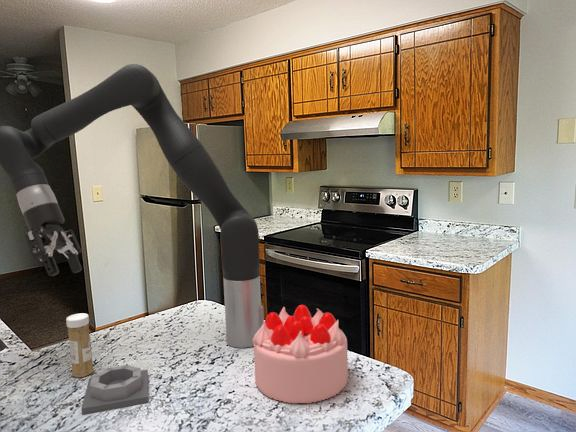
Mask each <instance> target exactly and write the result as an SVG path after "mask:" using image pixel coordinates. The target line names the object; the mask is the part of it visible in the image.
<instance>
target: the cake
mask: <svg viewBox="0 0 576 432" xmlns="http://www.w3.org/2000/svg"><path fill="white" fill-rule="evenodd" d="M316 310H317V311H316V313H315V314H314V315H313V317H312V314H311V312H310V311H309V308H308V307H307V306H306V305H305V304H300V305H298V306H297V307H296V308H295V310H294V313H293V315H289V314H288V312H287V311H286V307H285V306H283V307H282V309H281V310H280V312H279V314H278V313H277V312H275V311H271V312H269V313H268V314H267V316H266V318H265V319H264V324H263V325H262V326H261V328H260V329H259V330H258V331H257V333H256V334H255V336H254V338H253V343H254V346H253V357H254V359H253V361H254V363H253V364H254V382H255V385H256V387H257V388H258V390H259V391H260V392H261V393H262V394H264V395H265V396H266V397H268V398H270V399H272V398H273V399H272V400H275V401H278V400H279V401H278V402H281V401H283V403H286V402H287V404H288V403H289V404H297V403H307V404H312V402H314V403H318V402H317V401H320V402H322V401H321V400H324V401H326V400H325V399H327V400H329V399H331V398H333V397H335V396H337V395H338V394H340V393H341V392H342V391H341V390H344V388H345V387H346V386H347V383H348V377H349V376H348V374H349V373H348V372H349V371H348V367H349V365H348V339H347V336H346V335H345V333H344V332H343V330H342V329H340V328H339V319H337V320H336V318H335V316H334V315H333V314H332V313H331V312H323V311H322V310H320V309H319V308H316ZM340 391H341V392H340ZM339 392H340V393H339ZM336 394H337V395H336ZM332 396H333V397H332ZM330 397H331V398H330ZM328 398H329V399H328Z"/></svg>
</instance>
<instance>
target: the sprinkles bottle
mask: <svg viewBox="0 0 576 432" xmlns="http://www.w3.org/2000/svg"><path fill="white" fill-rule="evenodd" d="M65 320H66V327H67V334H68V344H69V345H68V346H69V355H70V362H71V369H72V373H71V375H72V376H73V377H74V378H84V377H87V376H89V375H91V374H93V372H94V370H95V369H94V366H93V365H94V364H93V351H92V344H91V336H90V316H89V314H88V313H84V312H82V313H74V314H71V315H69V316H67V317H66V319H65Z"/></svg>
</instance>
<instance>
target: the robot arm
mask: <svg viewBox="0 0 576 432" xmlns="http://www.w3.org/2000/svg"><path fill="white" fill-rule="evenodd" d="M129 106H132V107H133V108H134V110H135V111H136V112H137V113H138V114H139V115H140V117H142V119H143V120H144V121H145V123H146V124H147V125H148V126H149V128H150V130H151V131H152V133H153V134H154V136H155V138H156V141H157V142H158V145H159V147H160V149H161V151H162V153H163V155H164V158H165V159H166V160H167V162H168V164H169V165H170V167H171V168H172V169H173V171H174V173H175V174H176V175H177V177H178V179H179V180H181V182H182V183H183V185H184V186H186V188H187V189H188V190H189V191H190V192H191V193H192V194H193V195H194V196H195V197H197V199H198V200H199V201H200V202H201V203H203V205H204V206H205V207H206V208H207V210H208V211H209V212H210V214H211V216H212V217H213V219H214V221H215V222H216V224H217V226H218V228H219V229H220V252H221V267H222V275H223V276H222V279H223V295H224V316H225V337H226V343H227V345H228V346H229V347H233V348H239V349H243V348H244V349H245V348H251V347H254V343H253V338H254V336H255V334H256V333H257V331H258V330H259V329H260V328H261V326H262V325H263V324H264V322H265V319H264V306H263V304H262V301H261V299H262V298H261V297H262V296H261V294H262V293H261V271H260V270H261V269H260V268H261V266H260V263H261V261H260V260H261V259H260V236H259V228H258V223H257V222H256V219H255V218H254V217H253V216H252V215H251V214H250V213H249V212H248V210H247V209H246V208H245V207H244V206H243V205H242V204H241V202H240V201H239V200H238V199H237V197H235V195H234V194H233V192H232V191H231V190H230V188H229V186H228V185H227V182H226V181H225V179H224V177H223V175H222V173H221V172H220V169H219V168H218V166H217V165H216V163H215V161H214V159H213V158H212V157H211V155H210V153H209V152H208V151H207V149H206V148H205V146H203V144H202V143H201V141H200V140H199V139H198V137H197V136H196V135H195V134H194V132H193V131H192V130H191V129H190V128H189V126H188V125H187V124H186V123H185V121H184V120H183V119H182V118H181V117H180V116H179V115H178V113H177V112H176V111H175V109H174V107H173V105H172V103H170V100H169V99H168V97H167V95H166V93H165V91H164V90H163V88H162V86H161V84H160V82H159V80H158V78H157V77H156V76H155V74H153V72H151V71H150V70H149V69H148V68H146V67H145V66H144V65H141V64H138V63H131V64H130V63H129V64H127V65H125V66H123V67H121V68H120V69H118V70H117V71H116V72H113V74H111V75H110V76H108V77H106V79H104V80H103V81H101V82H100V83H98V84H97V85H95V86H93V87H92V88H90V89H89V90H86V91H85V92H83V93H81V94H80V95H78V96H76V97H74V98H71V99H70V100H67V101H66V102H63V103H61V104H59V105H57V106H54V107H52V108H50V109H49V110H46V111H44V112H42V113H40V114H38V115H36V116H35V117H33V118H32V119H31V121H30V126H31V127H30V128H29V129H27V130H25V131H22V130H20V129H18V128H16V127H13V126H10V125H1V126H0V166H1V168H2V169H3V171H4V172H5V174H6V175H7V176H8V177H9V179H10V183H11V185H12V188H13V190H14V193H15V195H16V199H17V203H18V206H19V208H20V210H21V213H22V215H23V219H24V221H25V224H26V226H27V228H28V232H26V233H24V236H25V240H26V242H27V245H28V247H29V250H30V253H31V254H30V255H31V256H32V258H33V260H36V259H39V261H40V262H42V264H43V266H44V268H45V271H46V273H47V275H48V277H54V276H56V275H58V274H60V269H59V267H58V265H57V262H56V260H55V257H54V256H53V254H54V251H57V252H58V253H59V254H63V255H64V256H65V258H67V260H66V261H67V263H68V265H69V268H70V270H71V272H72V273H73V274H76V273H79V272H81V271H82V270H83V267H82V264H81V262H80V260H79V257H78V255H79V254H80V253H82V248H81V247H80V244H79V242H78V240H77V237H76V234H75V232H74V231H73V229H69V230H67V231H65V230H64V229H63V227H62V226H63V224H64V223H65V217H64V214H63V212H62V210H61V208H60V205H59V203H58V200H57V198H56V195H55V193H54V191H53V190H52V188H51V186H50V184H49V182H48V179H47V176H46V175H45V174H46V173H45V172H44V170H43V168H42V167H41V166H40V165H39V164H38V163H36V162H35V161H34V160H35V159H36V158H38V157H39V156H41V154H43V153H44V152H46V151H47V150H48V149H49V148H51V146H53V145H54V144H56V143H57V142H60V141H62V140H64V139H66V138H68V137H71V136H73V135H75V134H77V133H79V132H80V131H82V130H84V129H85V128H87V127H88V126H89V125H90V124H92V123H94V122H95V121H96V120H98V119H99V118H100V117H103V116H104V115H106V114H109V113H111V112H113V111H115V110H119V109H122V108H124V107H129ZM37 247H38V250H37Z"/></svg>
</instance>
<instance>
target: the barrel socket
mask: <svg viewBox="0 0 576 432" xmlns="http://www.w3.org/2000/svg"><path fill="white" fill-rule="evenodd" d="M141 368H142V367H141ZM141 368H140V367H138V366H134V365H129V364H123V365H117V366H112V367H107V368H105V369H103V370H101V371H99V372H97V373H95V374H94V375H92V376H91V378H88V382H87V384H86V389H85V393H84V398H83V401H82V405H81V410H80V411H81V415H87V414H92V413H93V414H94V413H98V412H104V411H109V410H115V409H120V408H126V407H132V406H136V405H141V404H142V405H143V404H146V403H149V371H148V370H149V369H141Z"/></svg>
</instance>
